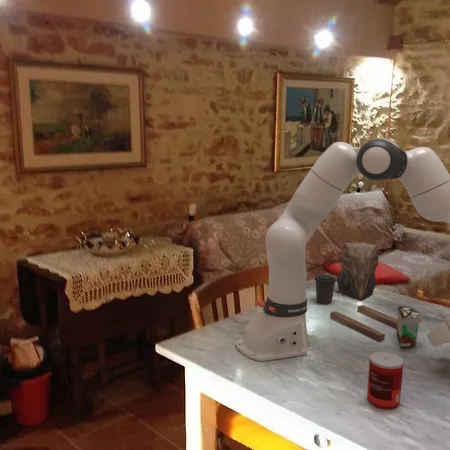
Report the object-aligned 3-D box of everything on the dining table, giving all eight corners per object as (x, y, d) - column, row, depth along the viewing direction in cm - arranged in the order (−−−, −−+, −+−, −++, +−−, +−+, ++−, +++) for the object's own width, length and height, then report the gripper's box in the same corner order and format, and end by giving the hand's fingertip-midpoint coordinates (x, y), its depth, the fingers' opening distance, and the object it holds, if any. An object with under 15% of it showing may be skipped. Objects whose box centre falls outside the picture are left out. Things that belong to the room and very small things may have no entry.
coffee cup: (322, 297, 198) (324, 271, 196) (339, 302, 192) (341, 276, 190) (308, 301, 193) (309, 275, 191) (325, 307, 187) (326, 281, 185)
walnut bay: (378, 341, 159) (379, 335, 158) (330, 317, 177) (330, 312, 177) (412, 332, 166) (412, 326, 166) (362, 310, 185) (362, 304, 184)
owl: (334, 292, 203) (337, 242, 199) (355, 286, 211) (358, 238, 207) (360, 301, 194) (363, 249, 189) (381, 295, 201) (385, 244, 197)
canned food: (393, 392, 130) (396, 351, 127) (405, 409, 122) (408, 366, 120) (362, 392, 129) (365, 351, 127) (372, 410, 121) (375, 366, 119)
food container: (422, 352, 152) (425, 320, 150) (400, 350, 153) (403, 318, 151) (416, 335, 164) (418, 305, 162) (395, 334, 165) (398, 304, 163)
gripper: (493, 303, 144) (458, 324, 154) (444, 316, 134) (410, 338, 144) (506, 324, 141) (470, 344, 152) (458, 339, 131) (422, 359, 141)
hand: (441, 341), depth 148 cm, fingers closed
